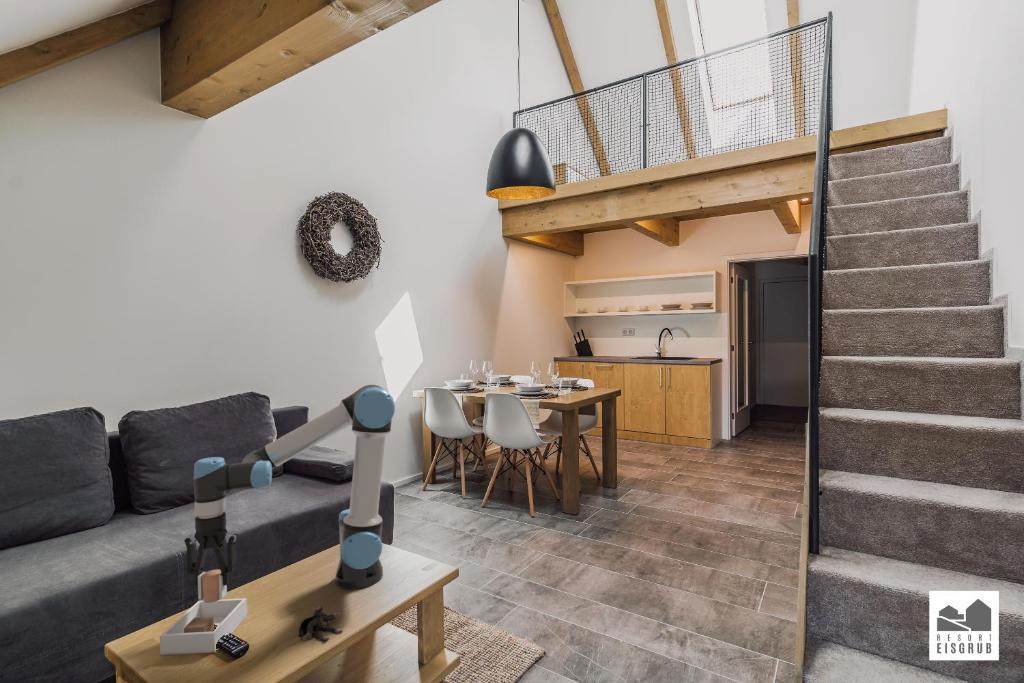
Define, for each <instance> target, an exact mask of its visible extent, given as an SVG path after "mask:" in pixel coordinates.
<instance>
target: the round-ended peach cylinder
mask: <svg viewBox="0 0 1024 683" xmlns="http://www.w3.org/2000/svg"><path fill="white" fill-rule="evenodd" d="M205 572H206V573H204V574H203V575H202V583H203V598H202V600H203V602H205V603H212V602H216V601H218V600H221V599H219V575H220V574H221V570H220V568H219V569H212V570H211V569H210V570H208V571H205Z"/></svg>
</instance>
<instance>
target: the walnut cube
mask: <svg viewBox="0 0 1024 683" xmlns="http://www.w3.org/2000/svg"><path fill="white" fill-rule="evenodd" d="M213 630H214V616H213V617H197V618H194V619H193V620H192V621H191V622H190V623H189V624H188V625H187V626H186V627H185V628H184V633H194V632H212V631H213Z"/></svg>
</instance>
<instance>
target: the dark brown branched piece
mask: <svg viewBox="0 0 1024 683" xmlns="http://www.w3.org/2000/svg"><path fill="white" fill-rule="evenodd" d="M340 616H341V613H340V612H339V611H338V612H335V613H331V614H327V613H325V609H324V607H323V606H318V607H316V608H315V609H314V611H313V612H312V615H310V616H309V617H306V618H304V619H303V620H302V621H301V623H300V625H299V628H298V638H302V641H303V642H307V641H309V640H312V637H313V636H314V639H316V640H319V641H320V642H327V641H328V640H329V639H330V636H324V635H322V634H321V633H320V632H323V633H325V632H326V633H327V632H328V633H332V634H341V633H342V632H343V629H341V628H340V629H337V628H336V627H333V626H329V625H330V624H329V623H330V622H331V623H332V622H334V621H336V620H338V619H339V618H340ZM323 623H325V624H323Z"/></svg>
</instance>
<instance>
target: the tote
mask: <svg viewBox="0 0 1024 683" xmlns="http://www.w3.org/2000/svg"><path fill="white" fill-rule="evenodd" d="M213 616H214V624H215V625H218V626H217V627H216V629H215V630H214V631H213V632H194V633H184V628H185V627H186V626H187V625H188V624H189V623H190V622H191V621H192V620H193V619H194V618H197V617H213ZM247 616H248V598H247V597H245V598H225V599H223V598H222V599H220V600H218V601H216V602H212V603H205V602H203V599H201V600H198V601H197V602H195V604H194V605H192V606H191V607H190V608H189V609H188V610H187V611H186V612H185V613H183V614H182V615H181V616H180V617H179V618H178V619H177V620H176V621H175V622H174V623H172V624H171V625H170V626H169V627H168V628H167V629H166V630H165V631H163V633H161V634H160V635H159V651H160V652H159V653H160V655H159V656H173V655H174V656H175V655H193V654H196V655H198V654H212V653H216V652H217V651H216V650H218V649H216V644H217V642H218V640H219V639H220V638H221V637H222V636H223V635H224V634H225V633H227V632H228V633H231V634H233V633H234V631H235V630H236V629H237V628H238V626H240V624H241V623H243V621H244V620H245V619H246V618H247Z"/></svg>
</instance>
